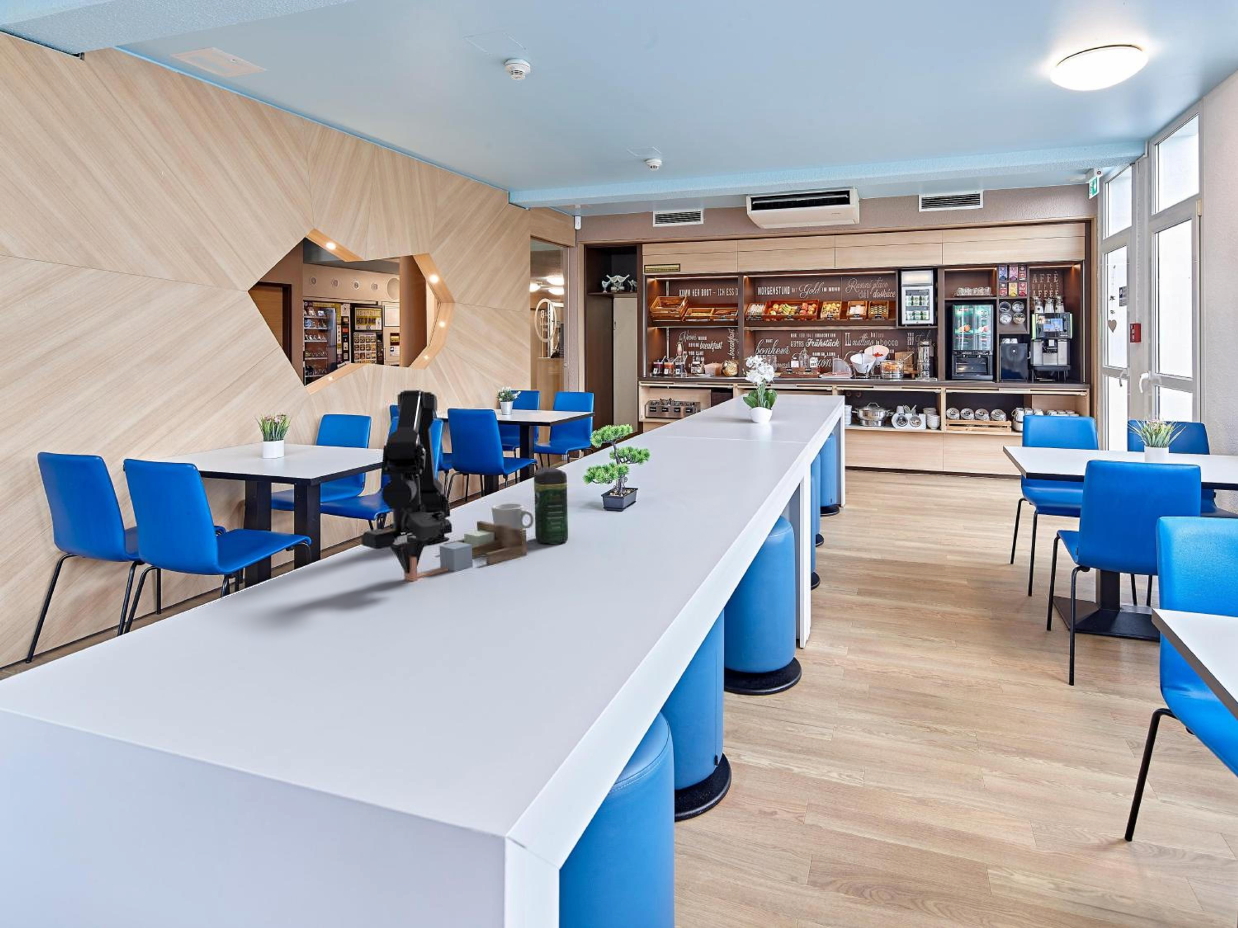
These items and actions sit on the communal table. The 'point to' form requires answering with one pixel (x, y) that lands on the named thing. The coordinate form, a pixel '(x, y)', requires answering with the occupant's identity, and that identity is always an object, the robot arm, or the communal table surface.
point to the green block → (478, 537)
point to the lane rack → (500, 543)
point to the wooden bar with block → (445, 560)
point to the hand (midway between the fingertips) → (410, 572)
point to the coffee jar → (550, 505)
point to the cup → (511, 515)
